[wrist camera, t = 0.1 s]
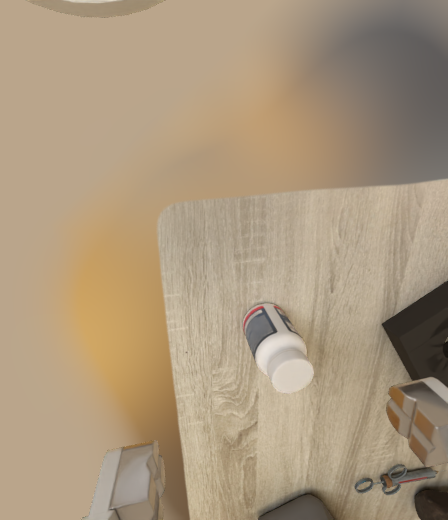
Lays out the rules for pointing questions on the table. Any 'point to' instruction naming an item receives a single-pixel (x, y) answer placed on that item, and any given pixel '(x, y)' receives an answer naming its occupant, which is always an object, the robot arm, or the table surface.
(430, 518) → the dark brown bone
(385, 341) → the table surface
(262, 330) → the pill bottle
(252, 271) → the table surface
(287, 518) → the alarm clock
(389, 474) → the syringe
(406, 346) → the socket pad
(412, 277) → the table surface
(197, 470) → the table surface
